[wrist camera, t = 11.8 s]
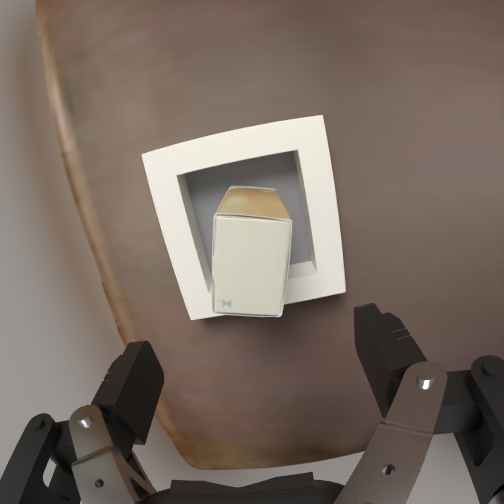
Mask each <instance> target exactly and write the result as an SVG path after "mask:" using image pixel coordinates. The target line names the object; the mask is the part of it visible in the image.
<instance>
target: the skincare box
mask: <svg viewBox="0 0 504 504" xmlns="http://www.w3.org/2000/svg"><path fill="white" fill-rule="evenodd" d="M291 239H292V220H291V218H290V216H289V214H288V212H287V210H286V208H285V206H284V204H283V202H282V200H281V199H280V197H279V195H278V193H277V191H276V189H274V188H266V187H256V186H242V185H231V186H230V187H229V189H228V190H227V192H226V194H225V196H224V198H223V200H222V201H221V203H220V205H219V207H218V209H217V211H216V213H215V214H214V217H213V243H212V313H214V314H226V315H237V316H254V317H280V316H281V315H282V311H283V307H284V301H285V296H286V289H287V281H288V272H289V263H290V252H291Z"/></svg>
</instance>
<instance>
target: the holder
mask: <svg viewBox="0 0 504 504" xmlns="http://www.w3.org/2000/svg"><path fill="white" fill-rule="evenodd" d="M142 158H143V162H144V166H145V170H146V174H147V178H148V182H149V186H150V190H151V194H152V197H153V201H154V205H155V208H156V212H157V215H158V219H159V222H160V226H161V229H162V233H163V236H164V239H165V243H166V246H167V249H168V253H169V256H170V259H171V262H172V265H173V268H174V271H175V275H176V278H177V281H178V284H179V287H180V290H181V293H182V296H183V299H184V301H185V304H186V307H187V310H188V313H189V316H190V319H191V320H195V319H202V318H208V317H215V316H221V315H226V314H214V313H212V243H213V217H214V214H215V213H216V211H217V209H218V207H219V205H220V203H221V201H222V200H223V198H224V196H225V194H226V192H227V190H228V189H229V187H230V186H231V185H242V186H256V187H266V188H274V189H276V191H277V193H278V195H279V197H280V199H281V200H282V202H283V204H284V206H285V208H286V210H287V212H288V214H289V216H290V218H291V220H292V239H291V252H290V263H289V272H288V281H287V289H286V296H285V301H284V304H289V303H295V302H300V301H305V300H310V299H315V298H320V297H324V296H329V295H334V294H339V293H343V292H346V289H345V276H344V264H343V253H342V243H341V234H340V225H339V216H338V208H337V201H336V193H335V186H334V179H333V173H332V166H331V160H330V154H329V148H328V142H327V137H326V131H325V126H324V121H323V116H322V115H320V116H312V117H305V118H298V119H291V120H285V121H279V122H273V123H268V124H262V125H257V126H252V127H247V128H242V129H237V130H232V131H228V132H223V133H219V134H215V135H210V136H206V137H202V138H198V139H194V140H190V141H186V142H183V143H179V144H175V145H172V146H168V147H165V148H161V149H158V150H154V151H151V152H148V153H144V154H142Z"/></svg>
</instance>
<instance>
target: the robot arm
mask: <svg viewBox="0 0 504 504" xmlns="http://www.w3.org/2000/svg"><path fill="white" fill-rule="evenodd" d="M354 330H355V346H356V351H357V354H358V357H359V359H360V361H361V364H362V366H363V369H364V371H365V374H366V376H367V379H368V381H369V384H370V386H371V389H372V391H373V394H374V396H375V399H376V401H377V404H378V407H379V409H380V412H381V414H382V417H383V418H385V417H386V418H385V420H384V422H381V423H380V424H379V426H378V427H377V429H376V431H375V433H374V435H373V437H372V439H371V441H370V443H369V445H368V447H367V448H366V450H365V452H364V454H363V456H362V458H361V460H360V461H359V463H358V465H357V466H356V468H355V470H354V472H353V473H352V475H351V477H350V478H349V480H348V482H347V483H346V485H345V486H344V485H341V484H338V483H334V482H330V481H323V480H314V479H313V472H309V473H302V474H295V475H289V476H280V477H275V478H271V479H268V480H265V481H262V482H258V483H255V484H251V485H248V486H244V487H239V488H237V487H231V486H225V485H220V484H215V483H211V482H206V481H185V480H172V482H171V487H170V489H166V490H162V491H159V492H157V491H156V490H155V488H154V487H153V486H152V484H151V482H150V481H149V479H148V477H147V475H146V474H145V472H144V470H143V468H142V466H141V464H140V463H139V461H138V459H137V457H136V455H135V453H134V452H133V450H132V447H133V444H139V445H145V443H146V439H147V436H148V433H149V429H150V426H151V422H152V419H153V416H154V413H155V409H156V406H157V403H158V400H159V397H160V393H161V390H162V387H163V384H164V373H163V369H162V367H161V365H160V363H159V361H158V359H157V357H156V355H155V353H154V351H153V349H152V346H151V344H150V343H149V342H148V341H138V342H130V343H129V344H128V345H127V347H126V349H125V351H124V353H123V355H120V356H119V357H118V358H117V359H116V360H115V361H114V362H113V363H112V364H111V366H110V368H109V370H108V374H106V376H105V378H104V381H102V383H101V385H100V387H99V389H98V391H97V393H96V395H95V397H94V399H93V401H92V403H91V405H85V406H82V407H80V408H78V409H77V410H75V411H74V412H73V414H72V415H71V417H70V419H69V420H67V421H62V422H55V421H54V420H53V418H52V417H51V416H50V415H49V414H46V413H42V414H39V415H36V416H35V417H33V418H32V419H31V420H30V421H29V423H28V424H27V426H26V428H25V430H24V432H23V434H22V436H21V438H20V440H19V441H18V444H17V445H16V448H15V450H14V452H13V454H12V456H11V458H10V460H9V462H8V464H7V466H6V469H5V471H4V473H3V475H2V477H1V480H0V504H80V501H81V500H82V503H83V504H405V503H406V501H407V499H408V497H409V495H410V493H411V490H412V488H413V486H414V484H415V481H416V479H417V477H418V474H419V472H420V469H421V467H422V464H423V462H424V459H425V456H426V454H427V451H428V448H429V445H430V442H431V439H432V436H433V435H434V434H445V433H454V436H455V438H456V440H457V443H458V445H459V448H460V450H461V453H462V455H463V458H464V460H465V463H466V466H467V468H468V471H469V474H470V476H471V479H472V482H473V484H474V488H475V490H476V493H477V496H478V499H479V502H480V504H504V361H503V360H502V359H501V358H499V357H496V356H491V355H486V356H482V357H479V358H478V359H476V360H475V361H474V362H473V364H472V366H471V369H470V370H465V371H455V372H446V371H445V369H444V368H443V367H441V366H440V365H438V364H436V363H434V362H428V361H427V359H426V358H425V356H424V354H423V353H422V351H421V350H420V348H419V347H418V345H417V344H416V342H415V341H414V339H413V338H412V336H410V333H409V332H408V330H407V329H405V326H404V325H403V323H402V322H401V320H400V319H399V318H397V317H396V316H394V315H393V314H391V313H385V314H381V313H380V311H379V309H378V308H377V306H376V305H375V304H374V303H370V304H366V305H362V306H358V307H355V308H354ZM49 458H50V459H51V460H52V461H53V462H54V463H55V464H56V468H55V471H54V473H53V476H52V479H51V481H50V484H49V487H47V486H46V485H45V484H44V482H43V473H44V470H45V468H46V465H47V463H48V461H49Z"/></svg>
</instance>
